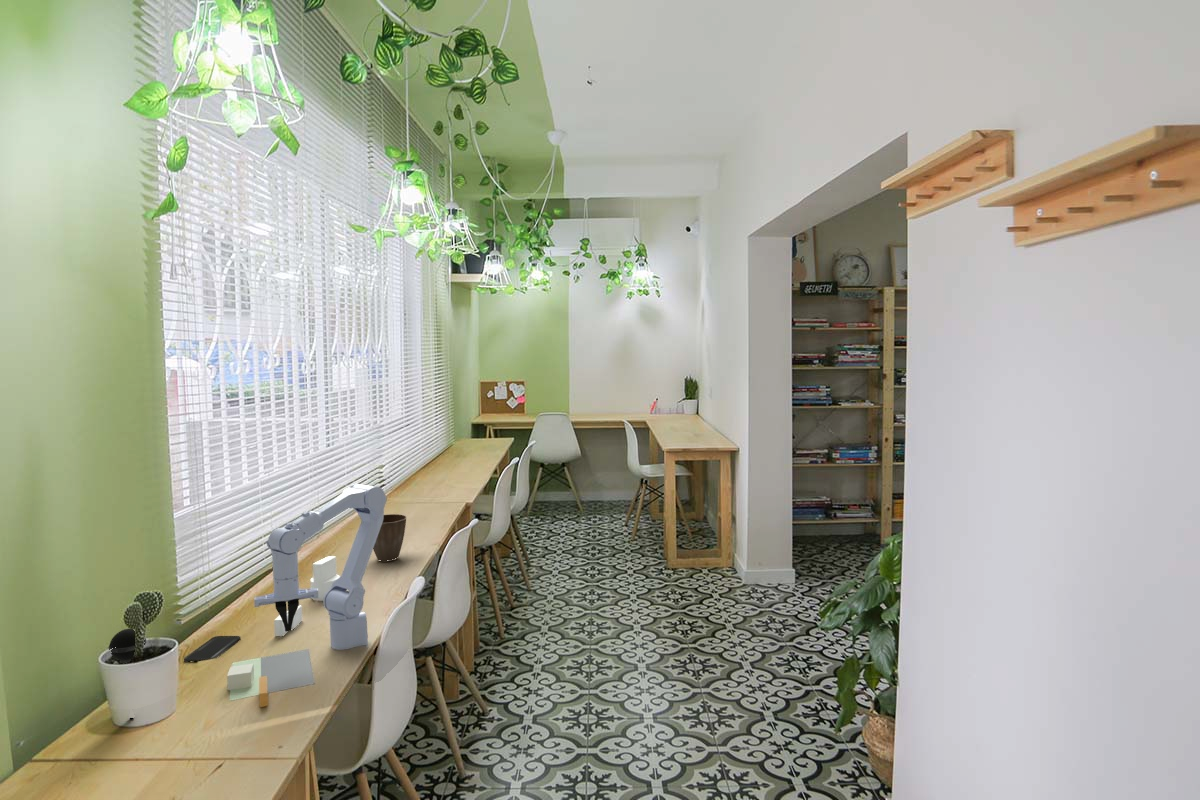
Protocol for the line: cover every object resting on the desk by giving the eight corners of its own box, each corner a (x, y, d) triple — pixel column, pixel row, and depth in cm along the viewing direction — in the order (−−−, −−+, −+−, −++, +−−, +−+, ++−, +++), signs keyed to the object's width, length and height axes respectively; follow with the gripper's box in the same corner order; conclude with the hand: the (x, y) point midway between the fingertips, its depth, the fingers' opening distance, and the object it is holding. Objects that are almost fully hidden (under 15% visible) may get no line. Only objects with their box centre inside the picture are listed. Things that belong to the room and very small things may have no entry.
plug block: (254, 677, 170) (253, 663, 170) (251, 686, 166) (250, 672, 165) (231, 680, 169) (230, 666, 168) (227, 690, 164) (226, 675, 164)
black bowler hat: (144, 724, 151) (139, 633, 150) (107, 729, 149) (102, 637, 148) (154, 708, 158) (150, 621, 156) (119, 713, 156) (114, 625, 154)
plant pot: (360, 564, 264) (358, 522, 263) (377, 553, 279) (376, 513, 278) (398, 565, 263) (397, 523, 262) (413, 554, 277) (412, 514, 276)
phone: (242, 635, 196) (211, 659, 181) (242, 639, 196) (211, 663, 182) (214, 636, 197) (181, 659, 182) (214, 639, 197) (181, 663, 182)
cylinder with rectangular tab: (321, 590, 236) (320, 555, 235) (345, 592, 234) (344, 556, 233) (305, 599, 227) (303, 563, 226) (330, 601, 225) (329, 564, 224)
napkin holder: (299, 618, 212) (298, 600, 212) (321, 626, 206) (320, 607, 205) (250, 635, 200) (249, 615, 200) (272, 644, 193) (271, 624, 193)
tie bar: (267, 688, 164) (266, 675, 164) (267, 705, 156) (267, 692, 156) (259, 689, 163) (259, 677, 163) (259, 707, 155) (259, 694, 155)
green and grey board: (308, 652, 187) (308, 648, 187) (315, 687, 167) (315, 683, 167) (232, 666, 179) (232, 662, 179) (229, 705, 159) (229, 700, 159)
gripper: (316, 567, 181) (318, 619, 182) (253, 576, 175) (255, 629, 176) (318, 575, 175) (320, 628, 176) (253, 584, 169) (255, 639, 170)
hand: (288, 629), depth 176 cm, fingers closed
